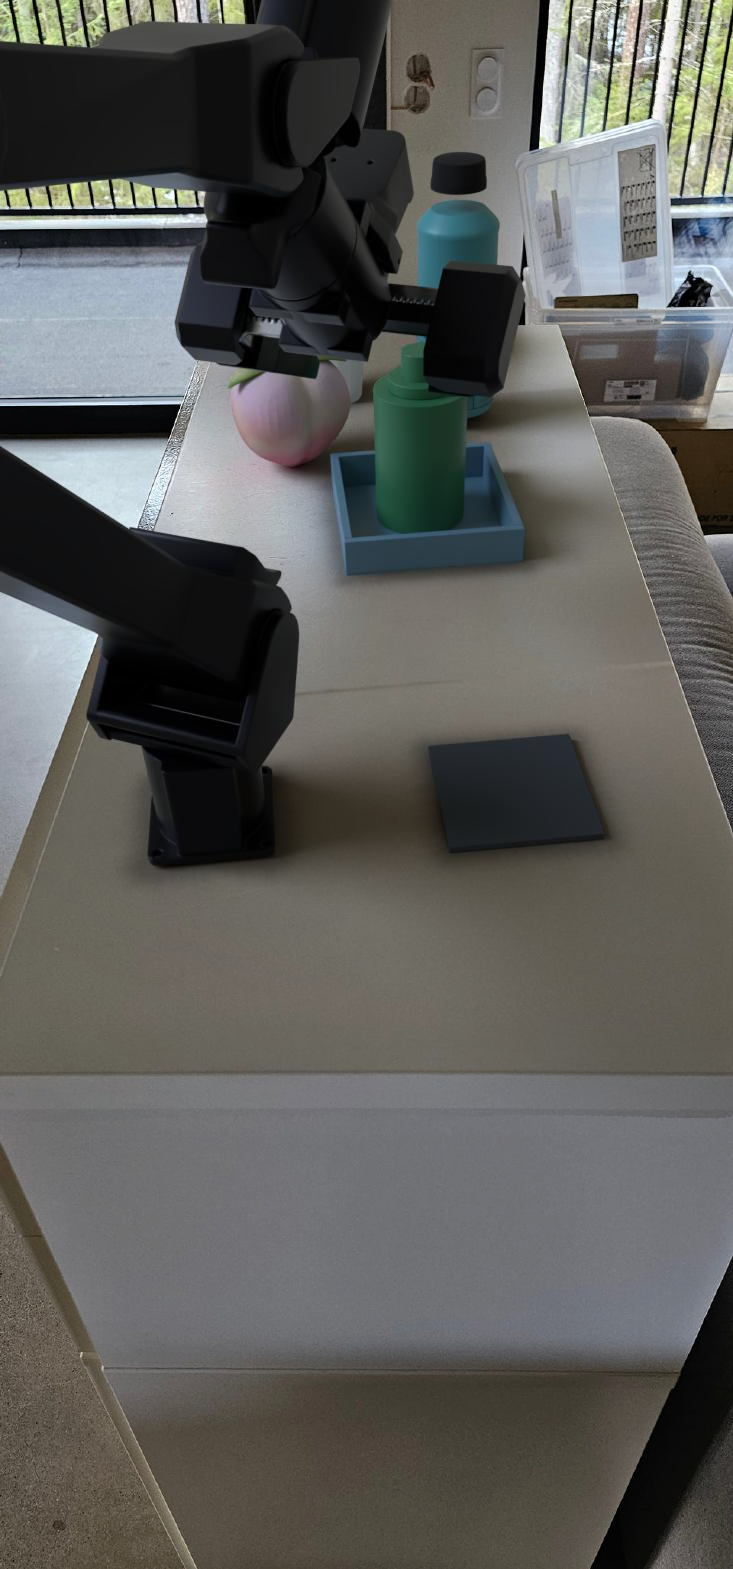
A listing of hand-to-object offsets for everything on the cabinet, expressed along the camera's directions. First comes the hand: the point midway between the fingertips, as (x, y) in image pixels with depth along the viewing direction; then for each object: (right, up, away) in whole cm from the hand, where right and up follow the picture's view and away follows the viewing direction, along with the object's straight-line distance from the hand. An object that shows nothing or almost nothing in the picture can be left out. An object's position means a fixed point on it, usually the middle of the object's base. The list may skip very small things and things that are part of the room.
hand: (384, 379), depth 68 cm
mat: (+7, -25, -9) cm, 28 cm away
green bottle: (+3, -5, +13) cm, 14 cm away
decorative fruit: (-7, +1, +20) cm, 22 cm away
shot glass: (-4, +10, +30) cm, 32 cm away
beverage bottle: (+6, +6, +26) cm, 27 cm away
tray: (+3, -6, +13) cm, 14 cm away
